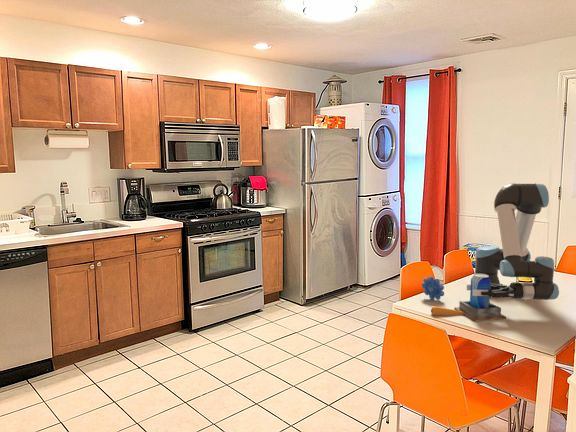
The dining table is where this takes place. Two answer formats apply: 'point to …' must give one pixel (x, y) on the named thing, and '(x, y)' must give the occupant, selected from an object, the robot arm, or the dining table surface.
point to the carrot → (444, 311)
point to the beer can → (480, 284)
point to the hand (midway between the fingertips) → (469, 289)
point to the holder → (480, 312)
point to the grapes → (433, 288)
